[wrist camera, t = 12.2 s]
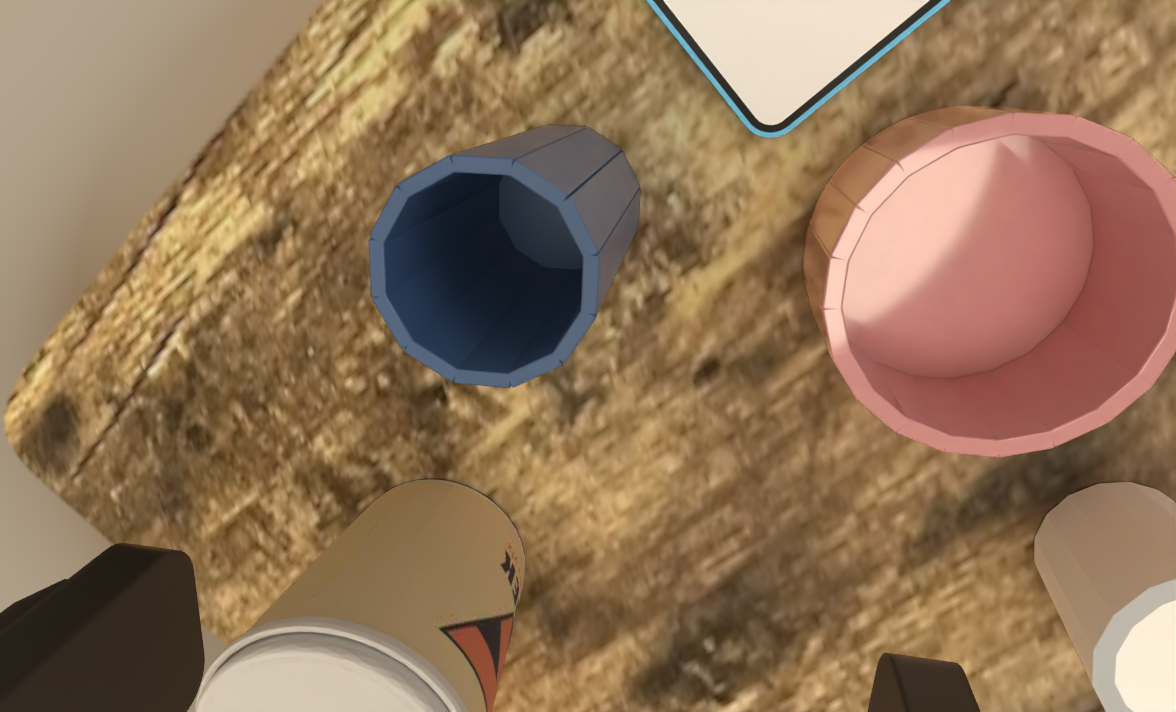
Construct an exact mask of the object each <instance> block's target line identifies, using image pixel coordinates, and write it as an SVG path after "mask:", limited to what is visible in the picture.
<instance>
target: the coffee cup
mask: <svg viewBox="0 0 1176 712" xmlns="http://www.w3.org/2000/svg"><path fill="white" fill-rule="evenodd" d="M524 576H525V556H524V551H523V546H522V542H521V540H520V537H519V535H518V533H517V530H516V529H515V527H514V526H513V524H512V522H511V521H510V519H509V518H508V517H507V515H506V514H505V513H504V512H503V511H502V510H501V509H500V508H499V507H498V506H497V505H496V504H495V503H493V502H492V501H491V500H490V499H489V498H487V497H485V496H484V495H482V494H480V493H479V492H477V491H475V490H473V489H471V488H469V487H466V486H464V485H461V484H458V483H454V482H450V481H444V480H436V479H427V480H416V481H412V482H408V483H404V484H401V485H399V486H397V487H394V488H392V489H390V490H389V491H387V492H386V493H384V494H383V495H382V496H380V497H379V498H378V499H377V500H376V501H374V502H373V503H372V504H371V505H370V506H369V507H368V508H367V509H366V510H365V511H364V512H363V513H362V514H361V515H360V516H359V517H358V518H357V519H356V520H355V521H354V522H353V523H352V524H351V525H350V526H349V527H348V528H347V529H346V530H345V531H344V532H343V533H342V534H341V535H340V536H339V537H338V538H337V539H336V540H335V541H334V542H333V543H332V544H331V545H330V546H329V547H328V548H327V549H326V550H325V551H324V552H323V553H322V554H321V555H320V556H319V557H318V558H317V559H316V560H315V561H314V562H313V563H312V564H311V565H310V566H309V567H308V568H307V569H306V570H305V572H304V573H303V574H302V575H301V576H300V577H299V578H298V579H297V580H296V581H295V582H294V583H293V584H292V585H291V586H290V587H289V588H288V589H287V590H286V591H285V592H284V593H283V594H282V595H281V596H280V597H279V598H278V599H277V600H276V601H275V602H274V604H273V605H272V606H271V607H270V608H269V609H268V610H267V611H266V612H265V613H264V614H263V615H262V616H261V617H260V618H259V619H258V621H257V622H256V623H255V624H254V625H253V626H252V627H251V628H250V629H249V630H248V631H247V632H246V633H244V634H243V635H241V636H240V637H238V638H237V639H236V640H235V641H233V642H232V643H231V644H230V645H229V646H228V647H227V648H225V649H224V651H223V652H222V653H221V654H220V655H219V656H218V657H217V658H216V659H215V661H214V662H213V664H212V665H211V666H210V668H209V669H208V671H207V673H206V675H205V677H204V679H203V681H202V683H201V685H200V689H199V692H198V695H197V701H196V706H195V712H492V709H493V705H494V701H495V697H496V693H497V689H498V685H499V681H500V677H501V674H502V670H503V666H504V662H505V658H506V654H507V650H508V645H509V641H510V637H511V633H512V629H513V625H514V621H515V617H516V613H517V609H518V605H519V601H520V596H521V592H522V587H523V582H524Z"/></svg>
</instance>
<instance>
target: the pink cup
mask: <svg viewBox="0 0 1176 712" xmlns="http://www.w3.org/2000/svg"><path fill="white" fill-rule="evenodd" d="M803 268H804V271H803V272H804V280H805V284H806V289H807V294H808V298H809V301H810V306H811V310H812V313H813V315H814V318H815V320H816V323H817V325H818V327H819V330H820V332H821V334H822V337H823V339H824V341H825V344H826V346H827V349H828V351H829V353H830V356H831V358H832V360H833V362H834V364H835V365H836V367H837V369H838V370H839V372H840V374H841V375H842V377H843V379H844V380H845V382H846V384H847V385H848V387H849V389H850V390H851V392H852V394H853V395H854V397H855V398H856V400H858V402H859V403H860V404H861V405H863V406H864V407H865V408H866V409H868V410H869V411H870V412H871V413H872V414H874V415H875V416H876V417H877V418H878V419H880V420H881V421H882V422H883V423H884V424H886V425H887V426H888V427H889V428H890V429H892V430H893V431H895V432H896V433H898V434H900V435H903V436H905V437H907V438H910V439H912V440H915V441H917V442H920V443H922V444H925V445H927V446H930V447H932V448H935V449H937V450H940V451H944V452H947V453H958V454H968V455H979V456H989V457H1004V456H1010V455H1016V454H1022V453H1027V452H1033V451H1039V450H1045V449H1051V448H1054V447H1056V446H1059V445H1061V444H1063V443H1065V442H1067V441H1069V440H1072V439H1074V438H1076V437H1078V436H1080V435H1083V434H1085V433H1087V432H1089V431H1091V430H1093V429H1096V428H1098V427H1100V426H1102V425H1104V424H1106V422H1107V423H1108V422H1110V421H1111V420H1112V419H1113V418H1115V417H1116V416H1117V415H1118V414H1120V413H1121V412H1122V411H1123V410H1124V409H1126V408H1127V407H1128V406H1129V405H1130V404H1132V403H1133V402H1134V401H1135V400H1136V399H1138V398H1139V397H1140V396H1141V395H1142V394H1144V393H1145V392H1146V391H1147V390H1148V389H1150V388H1151V387H1152V385H1153V384H1154V383H1155V381H1156V380H1157V378H1158V377H1159V376H1160V374H1161V373H1162V371H1163V370H1164V368H1165V367H1166V365H1167V364H1168V362H1169V361H1170V359H1171V358H1172V356H1173V355H1174V354H1175V352H1176V179H1175V178H1174V177H1173V175H1172V174H1171V173H1170V172H1169V171H1168V170H1167V169H1166V168H1165V167H1164V166H1163V165H1161V164H1160V163H1159V162H1158V161H1157V160H1156V159H1155V158H1154V157H1153V156H1152V155H1151V154H1149V153H1148V152H1147V151H1146V150H1145V149H1144V148H1143V147H1142V146H1141V145H1140V144H1139V143H1137V142H1136V141H1135V140H1134V139H1132V138H1131V137H1130V136H1127V135H1125V134H1122V133H1120V132H1117V131H1115V130H1112V129H1110V128H1107V127H1105V126H1102V125H1100V124H1097V123H1095V122H1092V121H1090V120H1087V119H1084V118H1082V117H1079V116H1074V115H1069V114H1061V113H1052V112H1043V111H1035V110H1026V109H1017V108H1009V107H991V106H970V105H958V106H951V107H947V108H940V109H935V110H931V111H927V112H924V113H920V114H916V115H914V116H912V117H909V118H907V119H904V120H902V121H899V122H897V123H895V124H893V125H892V126H890V127H888V128H886V129H884V130H883V131H881V132H879V133H877V134H876V135H875V136H873V137H872V138H871V139H869V140H868V141H866V142H865V143H864V144H862V145H861V146H860V147H859V148H858V149H857V150H856V151H855V152H854V153H852V154H851V155H850V156H849V157H848V158H847V159H846V160H845V161H844V163H843V164H842V165H841V166H840V167H839V169H838V170H837V171H836V172H835V173H834V174H833V176H832V177H831V179H830V180H829V182H828V184H827V185H826V187H825V188H824V190H823V191H822V193H821V195H820V197H819V199H818V201H817V203H816V205H815V208H814V210H813V213H812V216H811V219H810V222H809V225H808V229H807V234H806V239H805V244H804V258H803Z"/></svg>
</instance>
